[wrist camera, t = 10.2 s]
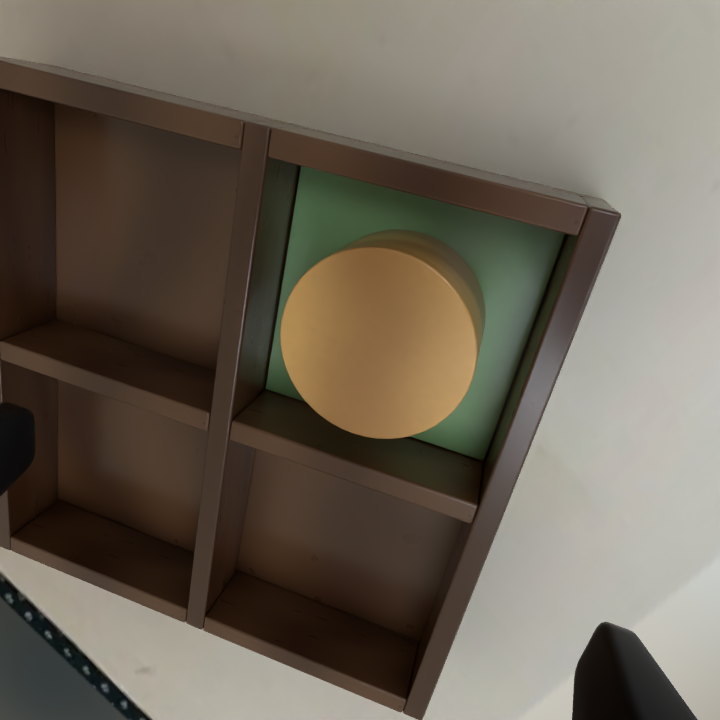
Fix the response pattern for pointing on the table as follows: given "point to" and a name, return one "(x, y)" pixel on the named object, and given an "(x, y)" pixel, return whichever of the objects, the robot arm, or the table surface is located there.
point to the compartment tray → (259, 372)
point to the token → (385, 334)
